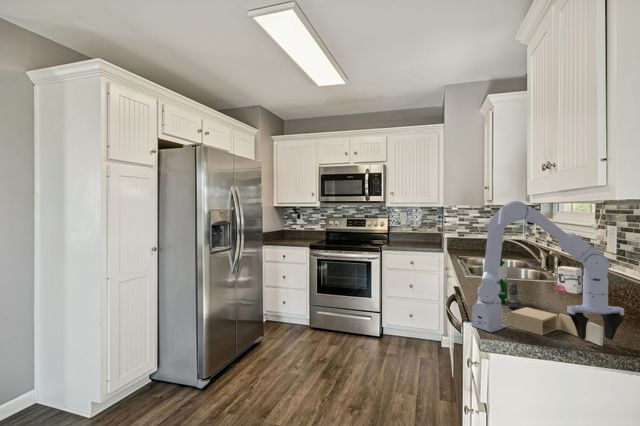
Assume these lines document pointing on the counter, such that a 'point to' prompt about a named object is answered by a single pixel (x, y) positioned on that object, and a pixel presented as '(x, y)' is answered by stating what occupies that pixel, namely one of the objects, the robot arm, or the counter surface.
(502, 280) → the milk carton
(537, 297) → the counter surface
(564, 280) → the ink box
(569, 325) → the flap
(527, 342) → the counter surface
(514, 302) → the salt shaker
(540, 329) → the carton
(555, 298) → the counter surface
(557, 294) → the counter surface
